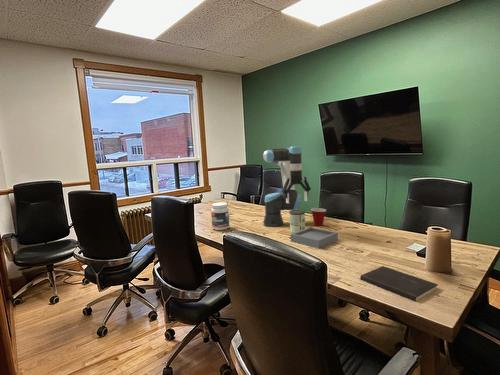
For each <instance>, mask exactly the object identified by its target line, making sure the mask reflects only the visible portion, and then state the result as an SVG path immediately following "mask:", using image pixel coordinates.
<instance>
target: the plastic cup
mask: <svg viewBox="0 0 500 375" xmlns="http://www.w3.org/2000/svg"><path fill="white" fill-rule="evenodd" d="M310 210H311V215H312V220H313V224H314V227H322V226H323V225H324V221H325V220H324V219H325V215H326V211H327V209H325V208H321V207H312V208H310Z"/></svg>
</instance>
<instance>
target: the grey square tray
mask: <svg viewBox="0 0 500 375" xmlns="http://www.w3.org/2000/svg"><path fill="white" fill-rule="evenodd" d="M289 236H290V242H292V243H296V244H299V245H303V246H308V247H311V248H315V249H320V248H322V247H326V246H328V245H329V244H332V243H334V242H336V241H339V232H336V231H332V230H326V229H321V228H316V227H315V228H314V227H311V226H310V227H307V228H305V229H304V230H301V231H298V232H295V233H290V235H289Z"/></svg>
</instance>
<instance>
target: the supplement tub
mask: <svg viewBox="0 0 500 375" xmlns="http://www.w3.org/2000/svg"><path fill="white" fill-rule="evenodd" d="M229 210H230V209H229V208H228V203H227V202H215V203H212V204H211V210H210V214H211V228H212V229H213V230H214V229H215V231H225V230H227V228H228V229H229V228H230V213H229V212H230V211H229ZM224 229H225V230H224Z"/></svg>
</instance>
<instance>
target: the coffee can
mask: <svg viewBox="0 0 500 375" xmlns="http://www.w3.org/2000/svg"><path fill="white" fill-rule="evenodd" d="M304 229H306V211H305V210H301V209H300V210H299V209H294V210H289V230H290V231H289V232H290V234H292V233H295V232H298V231H301V230H304Z"/></svg>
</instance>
